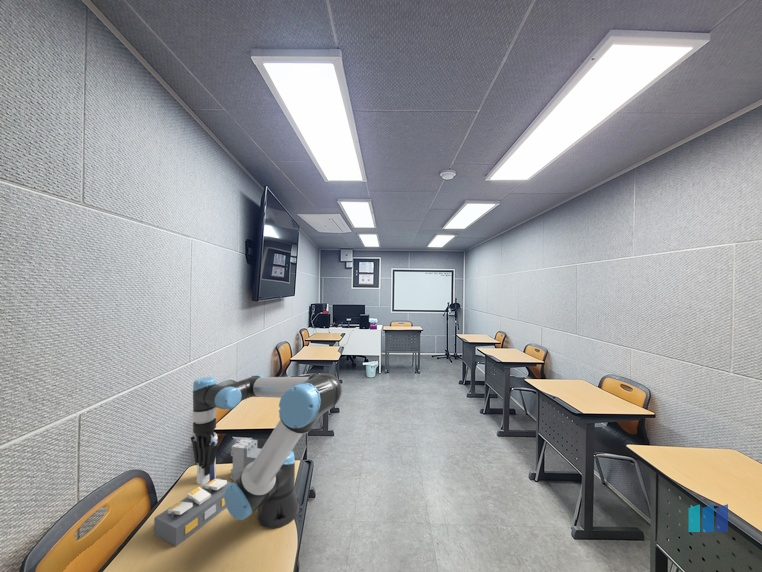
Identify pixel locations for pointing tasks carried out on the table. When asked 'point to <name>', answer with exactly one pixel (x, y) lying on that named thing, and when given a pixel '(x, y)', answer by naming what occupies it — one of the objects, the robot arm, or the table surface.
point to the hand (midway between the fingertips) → (204, 482)
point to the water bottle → (212, 468)
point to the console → (189, 517)
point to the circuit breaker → (243, 456)
